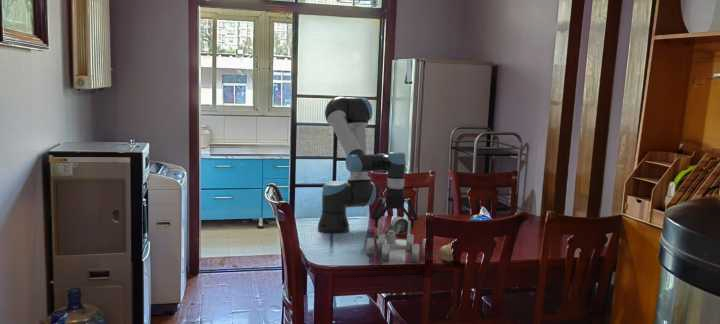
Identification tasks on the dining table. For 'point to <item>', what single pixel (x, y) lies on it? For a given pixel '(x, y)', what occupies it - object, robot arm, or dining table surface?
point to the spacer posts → (386, 246)
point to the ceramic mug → (396, 221)
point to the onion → (446, 253)
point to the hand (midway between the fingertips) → (393, 235)
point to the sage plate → (397, 244)
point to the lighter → (393, 234)
